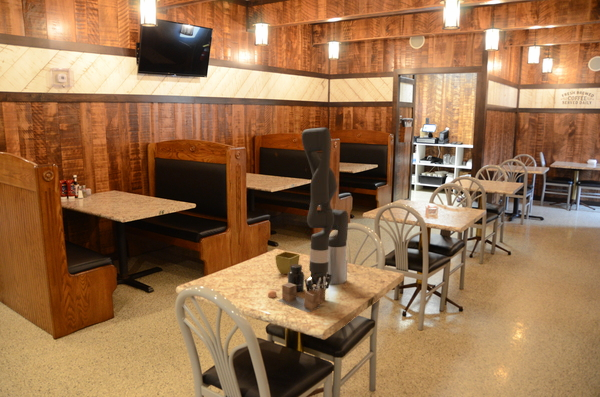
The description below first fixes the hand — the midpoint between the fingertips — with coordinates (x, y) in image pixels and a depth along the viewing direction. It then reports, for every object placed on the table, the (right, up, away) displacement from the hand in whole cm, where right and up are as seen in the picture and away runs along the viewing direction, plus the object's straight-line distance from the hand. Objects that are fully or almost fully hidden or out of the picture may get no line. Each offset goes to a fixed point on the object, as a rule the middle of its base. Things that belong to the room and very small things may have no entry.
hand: (317, 300), depth 195 cm
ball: (-19, 0, +5) cm, 19 cm away
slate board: (-7, -2, -2) cm, 8 cm away
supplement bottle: (-9, +1, +12) cm, 15 cm away
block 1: (-11, 0, +1) cm, 12 cm away
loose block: (0, -1, 0) cm, 1 cm away
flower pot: (-13, +5, +38) cm, 40 cm away
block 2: (-3, -1, -7) cm, 7 cm away
